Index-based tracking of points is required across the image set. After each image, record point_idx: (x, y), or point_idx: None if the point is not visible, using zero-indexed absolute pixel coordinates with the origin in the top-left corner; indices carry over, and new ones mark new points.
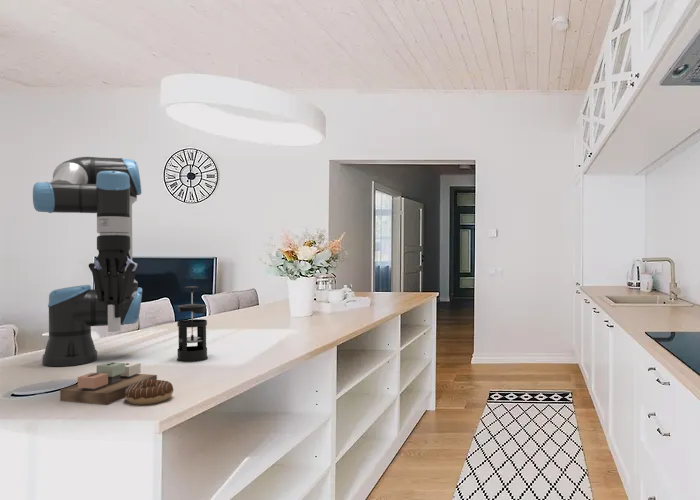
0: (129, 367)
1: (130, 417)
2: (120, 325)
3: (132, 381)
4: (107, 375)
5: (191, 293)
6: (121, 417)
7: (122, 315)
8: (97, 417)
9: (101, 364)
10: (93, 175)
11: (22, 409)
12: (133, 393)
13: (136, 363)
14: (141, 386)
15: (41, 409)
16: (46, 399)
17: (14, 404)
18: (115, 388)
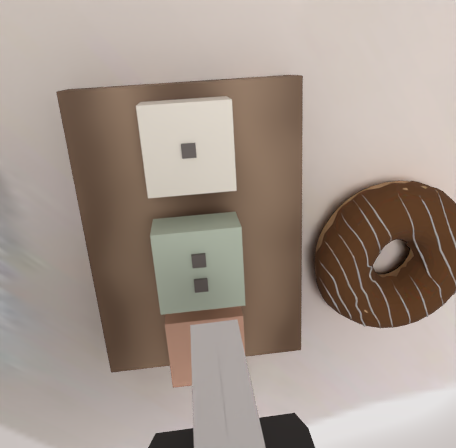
0: (235, 185)
1: (421, 379)
2: (241, 342)
3: (274, 206)
4: (242, 314)
5: None
6: (399, 386)
7: (306, 428)
8: (342, 406)
9: (160, 289)
10: None
11: (96, 432)
12: (384, 327)
13: (218, 116)
14: (370, 271)
15: (146, 416)
16: (61, 354)
17: (23, 415)
18: (283, 301)
